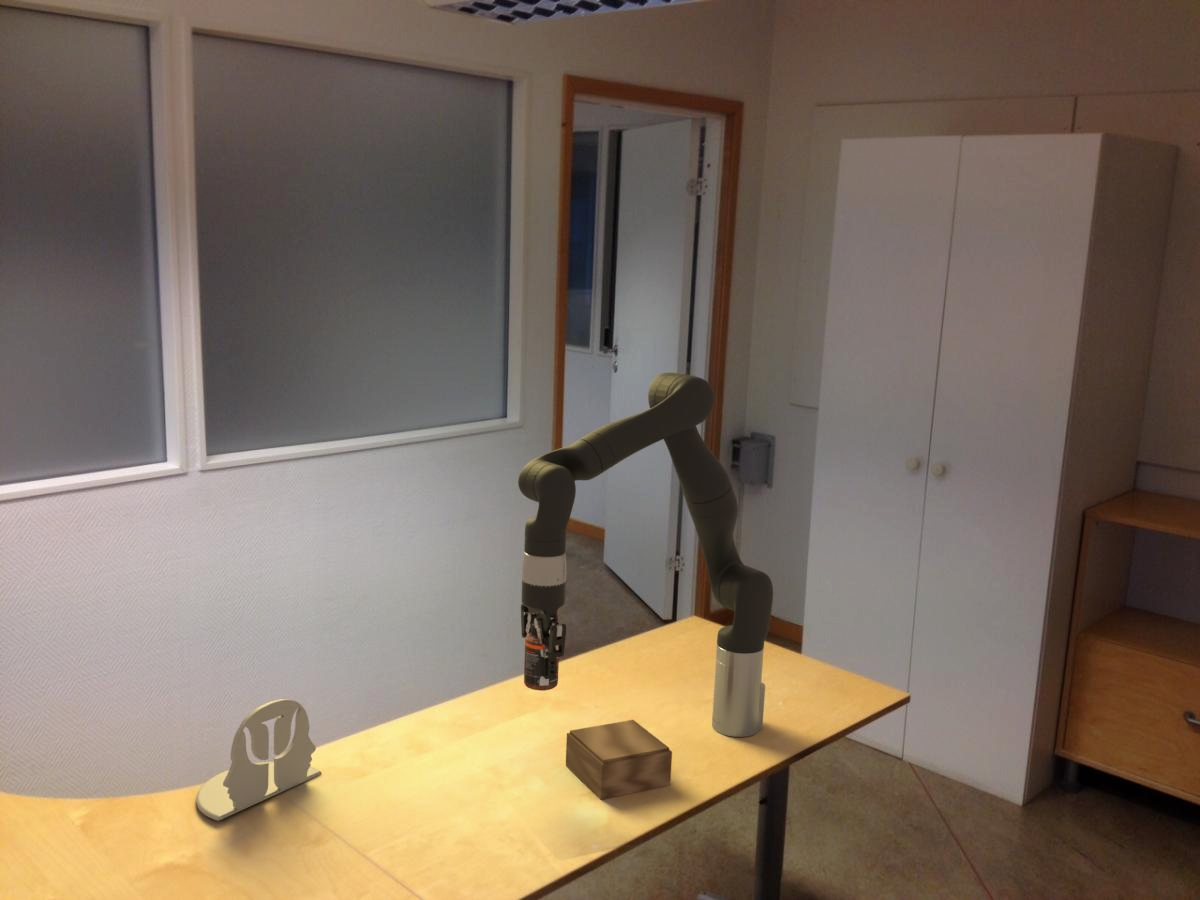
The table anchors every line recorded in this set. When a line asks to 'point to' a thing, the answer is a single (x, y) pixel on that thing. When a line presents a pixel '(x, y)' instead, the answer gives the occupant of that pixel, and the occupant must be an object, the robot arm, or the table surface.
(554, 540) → the robot arm
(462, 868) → the table surface
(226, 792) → the ornament
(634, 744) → the walnut block
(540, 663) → the supplement bottle
